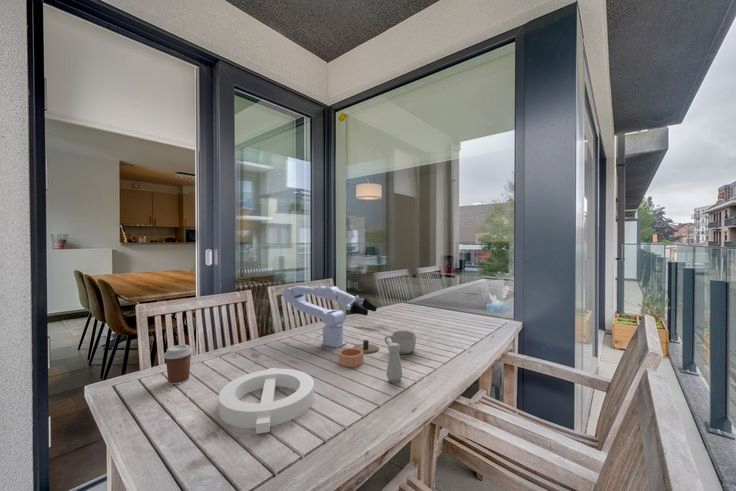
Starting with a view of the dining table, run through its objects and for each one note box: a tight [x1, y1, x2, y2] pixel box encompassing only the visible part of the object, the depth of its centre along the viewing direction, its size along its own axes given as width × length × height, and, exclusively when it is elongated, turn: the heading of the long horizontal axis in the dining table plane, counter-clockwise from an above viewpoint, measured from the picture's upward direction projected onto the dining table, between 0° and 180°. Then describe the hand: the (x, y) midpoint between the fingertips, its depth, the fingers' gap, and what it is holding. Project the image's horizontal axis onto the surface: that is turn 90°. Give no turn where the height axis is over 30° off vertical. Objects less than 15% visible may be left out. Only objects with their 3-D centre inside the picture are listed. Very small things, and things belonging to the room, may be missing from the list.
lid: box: [352, 339, 380, 355], centre depth 145 cm, size 12×12×4 cm
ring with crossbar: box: [218, 367, 315, 435], centre depth 98 cm, size 28×28×5 cm
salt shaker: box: [385, 342, 404, 384], centre depth 112 cm, size 6×6×13 cm
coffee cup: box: [162, 344, 194, 385], centre depth 113 cm, size 9×9×12 cm
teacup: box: [384, 330, 417, 355], centre depth 141 cm, size 14×11×8 cm
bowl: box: [338, 347, 364, 368], centre depth 129 cm, size 10×10×4 cm
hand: (371, 311), depth 141 cm, fingers open, 7 cm apart
